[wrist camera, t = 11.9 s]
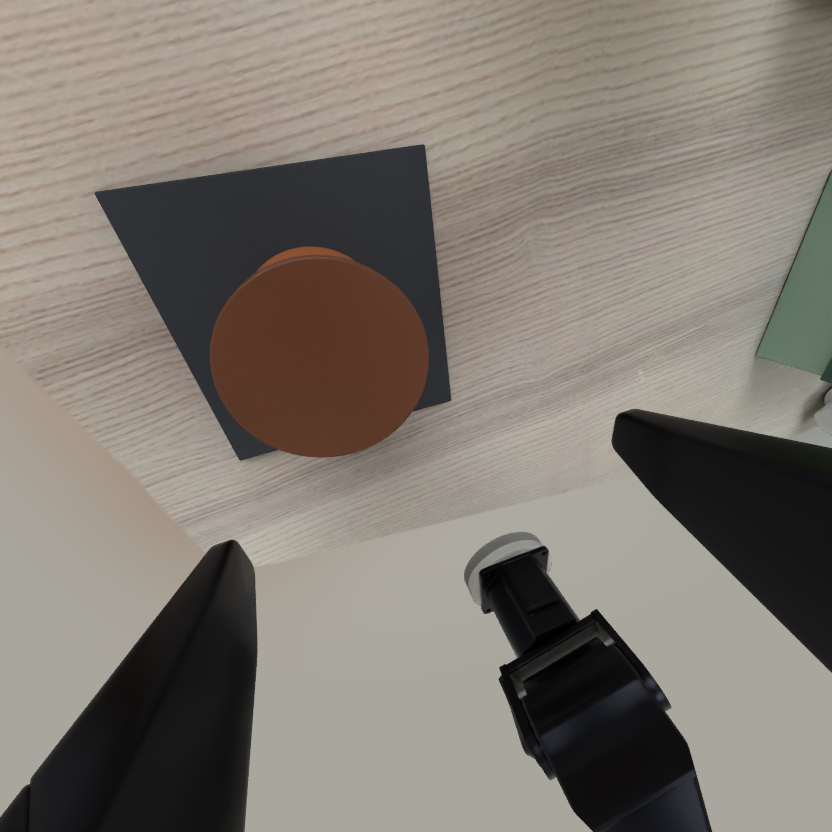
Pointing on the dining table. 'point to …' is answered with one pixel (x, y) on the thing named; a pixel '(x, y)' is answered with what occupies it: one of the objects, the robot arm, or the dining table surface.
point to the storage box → (806, 302)
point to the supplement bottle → (825, 414)
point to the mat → (280, 246)
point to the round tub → (319, 354)
